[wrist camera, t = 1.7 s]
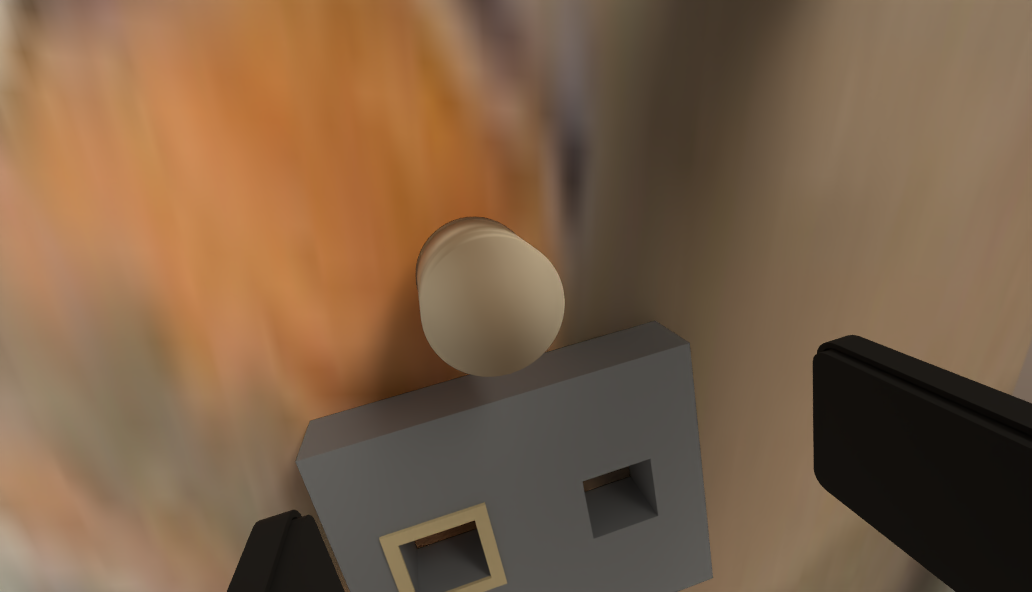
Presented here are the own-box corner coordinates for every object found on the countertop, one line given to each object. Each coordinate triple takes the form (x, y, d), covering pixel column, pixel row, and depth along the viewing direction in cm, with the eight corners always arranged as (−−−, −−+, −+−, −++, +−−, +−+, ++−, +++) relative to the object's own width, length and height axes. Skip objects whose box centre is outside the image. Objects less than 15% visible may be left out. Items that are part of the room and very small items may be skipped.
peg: (502, 198, 27) (551, 219, 18) (523, 293, 29) (576, 355, 20) (402, 222, 26) (400, 256, 17) (429, 318, 28) (440, 395, 19)
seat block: (655, 320, 31) (691, 344, 27) (681, 535, 37) (714, 580, 33) (310, 421, 28) (294, 464, 24) (396, 639, 34) (395, 703, 30)
